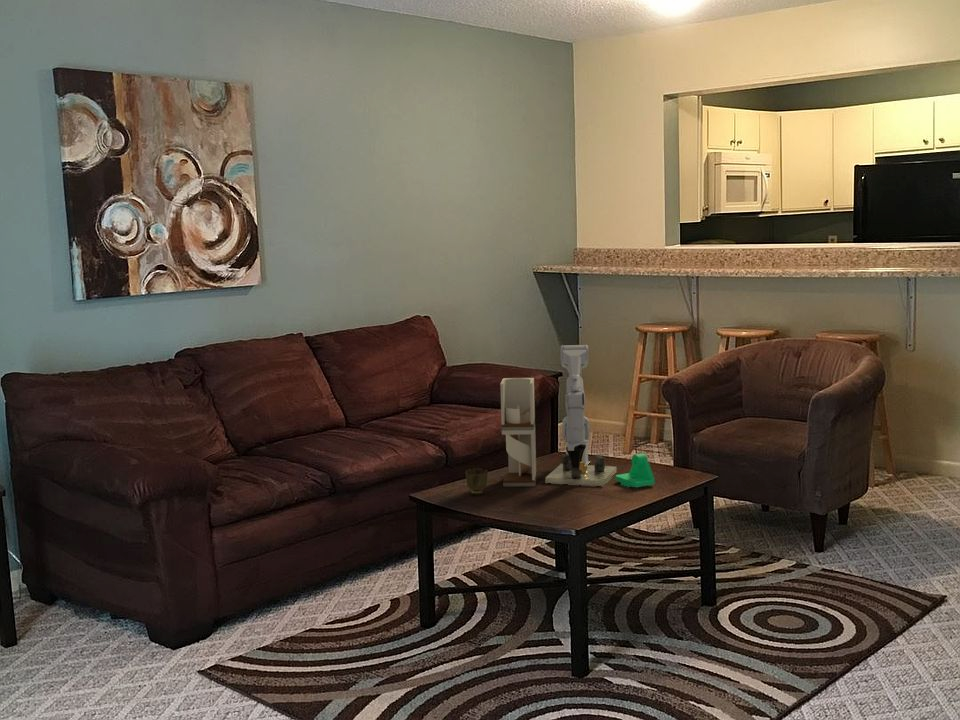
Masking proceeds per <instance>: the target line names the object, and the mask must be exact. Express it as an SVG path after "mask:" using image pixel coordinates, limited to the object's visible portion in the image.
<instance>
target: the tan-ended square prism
mask: <svg viewBox="0 0 960 720" xmlns="http://www.w3.org/2000/svg"><path fill="white" fill-rule="evenodd" d="M568 469H570V470H571V477H573V478H580V477H582V470H584V469H585V462H580V465H579V468H572V464H571V461H569V462H568Z"/></svg>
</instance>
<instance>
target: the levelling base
mask: <svg viewBox="0 0 960 720" xmlns="http://www.w3.org/2000/svg"><path fill="white" fill-rule="evenodd" d="M569 461H571V460H570V457H569V454H567V455H566V454H564V455H560V464H559V465H558V466H557V467H556V468H555V469H554V470H552V471H550V473H548V475H546V476H545V478H544V479H545V480H544V481H545V482H544V483H545V484H547V483H551V484H550V485H563V484H568V486H579V485H581V486H582V487H596V486H601V488H604V487H605V486H606V485H607V484H608V482H609V481H611V480H612V478H613V477H614V476H615V475H614V474H615V473H616V474H617V472H618V471H617V468H618V467H617V466H611V465H606V463H605V457H603V456H602V455H600V454H595V456H594V462H595V463H593V464H594V465H593V464H591V465H590V464H589V465H587V464H585V469H584V470H582V477H580V478H573V477H571V470H570V469H568V462H569ZM613 475H614V476H613ZM612 476H613V477H612ZM606 483H607V484H606ZM605 484H606V485H605ZM604 485H605V486H604Z"/></svg>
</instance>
